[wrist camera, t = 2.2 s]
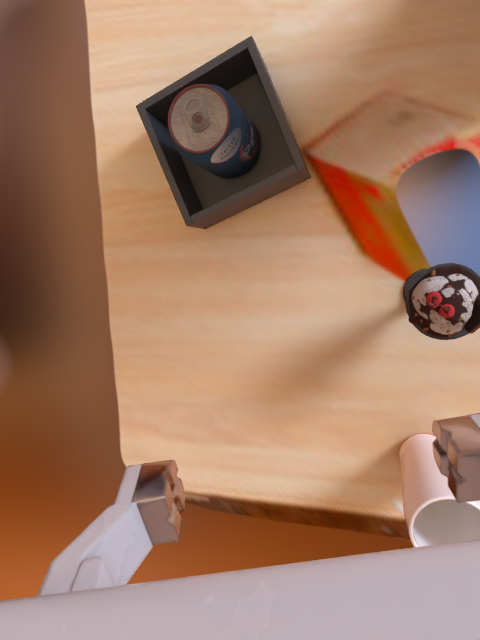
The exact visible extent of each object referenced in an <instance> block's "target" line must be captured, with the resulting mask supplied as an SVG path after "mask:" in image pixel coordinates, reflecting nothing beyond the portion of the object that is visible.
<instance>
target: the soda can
mask: <svg viewBox="0 0 480 640" xmlns="http://www.w3.org/2000/svg"><path fill="white" fill-rule="evenodd" d="M168 127H169V131H170V136H171V140H172V142H173V144H174V146H175V148H176V149H177V151H178V152H179V153H180V154H181V155H182V156H183V157H185V158H186V159H188V160H190V161H192V162H193V163H195V164H197V165H199V166H200V167H202V168H204V169H206V170H208V171H209V172H211V173H213V174H215V175H216V176H219V177H222V178H235V177H239V176H241V175H243V174H244V173H246V172H247V171H248V170H250V168H251V167H252V166H253V165H254V163H255V162H256V160H257V157H258V155H259V151H260V138H259V134H258V131H257V129H256V127H255V125H254V124H253V123H252V121H251V120H250V119H249V118H248V116H247V115H246V114H245V112H244V111H243V110H242V109H241V107H240V106H239V105H238V104H237V102H236V101H235V100H234V98H233V97H232V96H231V95H230V94H229V93H228V92H227V91H226V90H224V89H223V88H221V87H219V86H216V85H212V84H196V85H192V86H189V87H187V88H185V89H183V90H182V91H181V92H180V93H179V94H178V95H177V96H176V97H175V98H174V100H173V102H172V104H171V106H170V109H169V113H168Z"/></svg>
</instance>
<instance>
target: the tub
mask: <svg viewBox="0 0 480 640" xmlns="http://www.w3.org/2000/svg"><path fill="white" fill-rule="evenodd" d="M196 84H212V85H216V86H219V87H221V88H223V89H224V90H226V91H227V92H228V93H229V94H230V95H231V96H232V97H233V98H234V100H235V101H236V102H237V104H238V105H239V106H240V107H241V109H242V110H243V111H244V112H245V114H246V115H247V116H248V118H249V119H250V120H251V121H252V123H253V124H254V125H255V127H256V129H257V131H258V134H259V138H260V151H259V155H258V157H257V160H256V162H255V163H254V165H253V166H252V167H251V168H250V170H248V171H247V172H246V173H244V174H243V175H241V176H239V177H235V178H222V177H219V176H216V175H215V174H213V173H211V172H209V171H208V170H206V169H204V168H202V167H200V166H199V165H197V164H195V163H193V162H192V161H190V160H188V159H186V158H185V157H183V156H182V155H181V154H180V153H179V152H178V151H177V149H176V148H175V146H174V144H173V142H172V140H171V136H170V131H169V127H168V113H169V109H170V106H171V104H172V102H173V100H174V98H175V97H176V96H177V95H178V94H179V93H180V92H181V91H182V90H183V89H185V88H187V87H189V86H192V85H196ZM136 108H137V110H138V112H139V115H140V117H141V119H142V122H143V124H144V126H145V129H146V131H147V134H148V136H149V138H150V141H151V143H152V145H153V148H154V150H155V152H156V155H157V157H158V159H159V162H160V164H161V167H162V169H163V171H164V174H165V176H166V178H167V181H168V183H169V185H170V188H171V190H172V192H173V195H174V197H175V200H176V202H177V204H178V207H179V209H180V211H181V214H182V216H183V218H184V221H185V223H186V226H190V227H197V228H203V229H206V228H208V227H210V226H212V225H214V224H217V223H219V222H221V221H223V220H225V219H227V218H229V217H231V216H233V215H235V214H237V213H239V212H241V211H243V210H245V209H247V208H250V207H252V206H254V205H256V204H258V203H260V202H262V201H264V200H266V199H268V198H270V197H272V196H274V195H276V194H278V193H281V192H283V191H285V190H287V189H289V188H291V187H293V186H295V185H297V184H299V183H301V182H303V181H305V180H307V179H309V178H311V176H310V174H309V171H308V169H307V166H306V164H305V161H304V159H303V156H302V154H301V152H300V149H299V147H298V144H297V142H296V139H295V137H294V134H293V132H292V130H291V127H290V125H289V122H288V120H287V117H286V115H285V112H284V110H283V107H282V105H281V103H280V100H279V98H278V95H277V93H276V90H275V88H274V85H273V83H272V81H271V78H270V76H269V73H268V71H267V68H266V66H265V63H264V61H263V59H262V57H261V55H260V52H259V50H258V48H257V46H256V44H255V42H254V40H253V37H252V36H250V37H249V38H247V39H245V41H242V42H240V43H239V44H237V45H235V46H234V47H232V48H230V49H229V50H227V51H226V52H224V53H222V54H221V55H219V56H217V57H216V58H214V59H212V60H211V61H209V62H207V63H206V64H204V65H202V66H201V67H199V68H197V69H196V70H194V71H192V72H191V73H189V74H188V75H186V76H184V77H183V78H181V79H179V80H178V81H176V82H174V83H173V84H171V85H169V86H168V87H166V88H164V89H163V90H161V91H159V92H158V93H156V94H155V95H153V96H151V97H150V98H148V99H146V100H145V101H143V102H142V103H140V104H138V105H137V106H136Z"/></svg>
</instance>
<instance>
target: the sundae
mask: <svg viewBox="0 0 480 640" xmlns="http://www.w3.org/2000/svg"><path fill="white" fill-rule="evenodd" d="M403 295H404V299H405V302H406V310H407V313H408V316H409V321H410V323H412V324H413V325H414V326H415V327H416V328H417V329H418V330H419V331H420V332H421V333H423V334H424V335H426V336H429V337H431V338H435V339H440V340H449V339H456V338H460V337H463V336H465V335H467V334H469V333H473V332H475V331H476V330H477V329H479V328H480V277H479V276H478V275H477V274H476V273H475V272H474V271H473V270H471V269H470V268H468V267H466V266H463V265H460V264H454V263H449V264H440V265H436V266H434V267H431V268H429V269H422V270H420V271H417V272H415V273H414V274H412V275H411V276H410V277H409V278H408V279H407V281H406V283H405V286H404V289H403Z"/></svg>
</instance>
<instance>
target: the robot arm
mask: <svg viewBox="0 0 480 640" xmlns="http://www.w3.org/2000/svg"><path fill="white" fill-rule="evenodd" d="M432 431H433V433H434V435H435V436H436V439H435V440H434V441H433V443H432V444H433V454H434V459H435V462H436V465H437V467H438V469H439V471H440V473H441V474H442V475H444V476H446V477H447V478H448V487H449V489H450V490H451V492H452V494H453V496H454V497H455V499H456V501H457V502H458V503H461V502H470V501H480V413H477V414H471V415H467V416H461V417H454V418H448V419H441V420H435V421H433V424H432ZM177 471H178V468H177V465H176V462H175V461H174V460H167V461H159V462H151V463H144V464H138V465H130V466H128V467H127V468H126V470H125V473H124V476H123V479H122V482H121V485H120V488H119V491H118V494H117V497H116V500H115V504H114V505H111V506H109V507H108V508H107V509H106V510H105V511H104V512H103V513H102V514H101V515H100V516H99V517H97V518H96V519H95V520H94V521H93V522H92V523H91V524H90V525H89V526H88V527H87V528H86V529H85V530H84V531H83V532H82V533H81V534H80V535H79V536H78V537H77V538H76V539H75V540H74V541H73V542H71V543H70V544H69V545H68V546H67V547H66V548H65V549H64V550H63V551H62V552H61V553H60V554H59V555H58V556H57V557H56V558H55V559H54V560H53V561H52V562H51V565H50V567H49V569H48V572H47V574H46V576H45V579H44V581H43V583H42V586H41V588H40V591H39V593H38V595H37V596H35V597H28V598H20V599H12V600H4V601H0V640H480V539H477V540H469V541H462V542H454V543H447V544H439V545H431V546H423V547H415V548H407V549H400V550H391V551H384V552H376V553H368V554H360V555H352V556H345V557H337V558H329V559H322V560H314V561H306V562H299V563H291V564H284V565H276V566H268V567H260V568H252V569H245V570H237V571H230V572H221V573H214V574H207V575H199V576H191V577H184V578H175V579H167V580H160V581H152V582H144V583H137V584H129V585H126V584H127V582H128V581H129V580H130V578H131V577H132V576H133V574H134V573H135V571H136V570H137V568H138V567H139V566H140V564H141V563H142V561H143V560H144V558H145V557H146V556H147V554H148V553H149V551H150V550H151V548H152V547H153V546H152V545H156V544H162V543H168V542H173V541H179V540H180V533H181V526H182V520H181V517H180V514H181V513H182V512H183V510H184V504H185V494H184V487H183V483H182V480H181V479H180V478H178V477H177Z"/></svg>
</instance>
